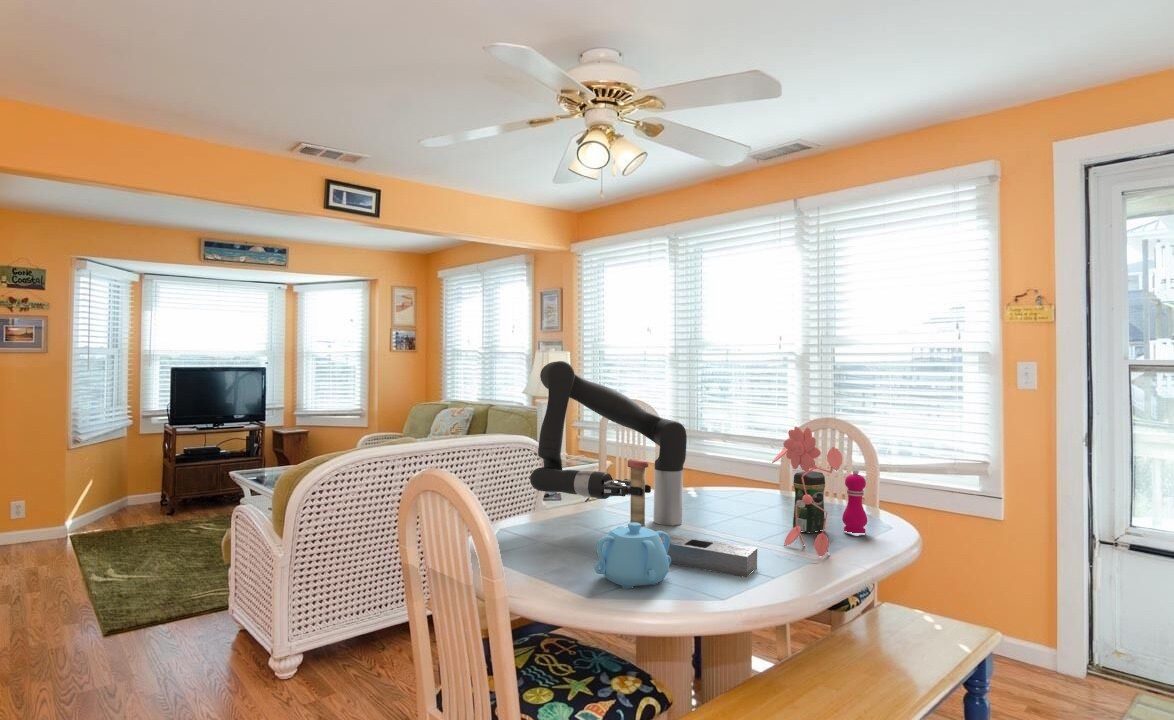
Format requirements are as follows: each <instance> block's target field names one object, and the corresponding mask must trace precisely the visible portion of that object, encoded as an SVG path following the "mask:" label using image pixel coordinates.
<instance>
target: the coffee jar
mask: <svg viewBox="0 0 1174 720" xmlns="http://www.w3.org/2000/svg"><path fill="white" fill-rule="evenodd" d="M804 473H806V472H805V471H800V472H796V473H795V474H794V475H793V483H792V485H793V487H794V505H793V506H794V507H793V517H792V518H793V519H792V529H793V528H794V527H796V503H798V502H800V501H801V500H802V498H803V496H804V495H806V494H805V490H804V487H803V483H802V479H801V477H803V476H802V475H803V474H804ZM825 477H826V476H825V475H824V473H823V472H819V471H814V470H812V471H811V472H809V473H808V474H806V475H805V476H804V477H803V479H804V484H805V488H806V493H807V495H810V496H811V497H812V499H813V501H812V503H814V504H815V505H817V506H819V507H820V508H822V509H823V510H825V503H824V502H825V501H824V494H825V493H824V492H825V488H826V478H825ZM815 505H813V504H805V503H804V502H803V501H802V502H801V503H799V504H797V526H800V527H801V531H805V532H804V533H806V532H815V531H820V530H823V526H824V521H825V516H826V515H825V512H824V511H823V510H821V509H820V508H818V507H816V506H815Z"/></svg>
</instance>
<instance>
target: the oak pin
mask: <svg viewBox="0 0 1174 720" xmlns="http://www.w3.org/2000/svg"><path fill="white" fill-rule="evenodd" d="M627 467H628V468H630V480H631V487H632V486H633V487H642V488H644V495H643V496H637V495H630V521H629V523H640V524H641V527H645V526H646V515H645V514H646V493H645V484H646V469H647V468H649V460H646V459H640V458H639V459H635V458H634V459H629V460H627Z"/></svg>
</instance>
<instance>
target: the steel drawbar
mask: <svg viewBox="0 0 1174 720" xmlns="http://www.w3.org/2000/svg"><path fill="white" fill-rule="evenodd" d="M667 534H668V535H669V537H670V546H669V549H668V552H667V555H668V556H670V558H671V564H672V565H677V566H683V567H688V568H692V569H698V568H699V569H700V570H704V569H706V570H705V571H709V570H711V571H710V572H714V571H716V572H715V573H720V572H721V574H725V573H726V574H727V575H733V576H736V575H737V577H742V576H743V578H748V577H749V576H750V575H751V574H752V573H753V572H754V571H755V570H756V569H757V568H758V547H753V546H747V545H739V544H734V543H727V542H721V541H715V540H714V541H713V540H709V539H703V538H698V537H697V538H695V537H689V536H684V535H683V536H682V535H677V534H671V533H667ZM659 536H660V538H661V540H662V542H663V545H664V543H665V537H664V536H663V535H659ZM671 564H670V565H671ZM753 570H754V571H753ZM752 571H753V572H752ZM751 572H752V573H751ZM750 573H751V574H750ZM749 574H750V575H749ZM748 575H749V576H748ZM747 576H748V577H747Z"/></svg>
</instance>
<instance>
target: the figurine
mask: <svg viewBox="0 0 1174 720" xmlns="http://www.w3.org/2000/svg"><path fill="white" fill-rule="evenodd" d="M787 433H788V437H789V438H788V439H785V441H784V442H783V443H782V444H783V445H782V446H783V447H784V449H783V450H781V451H780V452H779V453H778V454H777V456H775V457H774V459H773V460H772V462H771V464H774V463H776V462H777V461H778V460H780V459H781V458H782V457H784V456H785V455H786V458H787V459H789V460H790V464H791V467H792V469H793V470H796V469H798V468H799V466H800V468H801V470H802V471H803V472H806V473H804V474H803V475H802V476H803V477H804V476H805V475H806V474H808V473H809V472H811V471H814V470H820V471H823V472H827V473H830V474H832V473H833V470H835V471H839V469H840V467H841V466H842V464H843V455H842V452H841V451H840V450H839V449H838V448H836V447H835V446H831V449H829V450H828V452H827V455H826V460H827V463H828V465H829V466H830V470H829V469H826V468H822V467H820V466H818V465H817V464H816V461H815V460H814V459H817V458H818V457H820V456H821V453H822V452H821V450H820V449H819V448H818V447H816V441H817V440H816V438H815V437H814V436H813V434H812V430H811V427H805V429H804V430H803V431H802V429H801V428H800V427H798V426H795V427H794V429H789V430H788V432H787ZM803 477H801V479H802V483H803V487H804V490H805V494H806V495H804V496H803V498H802V500H801V501H800V502H798V503H796V527H794V528H793V527H792V528H791V530H790V531H789V532H788V533H787V535H786V537H785V540H784V545H783V547H787V546H789V545H791V544H792V543H794V542H795V541H796V540H797V539H798V538H799V539H800V541H801V545H802V546H803V545H804V544H805V542H804V540H803V536H802V532H801V527H800V526H797V504H799V503H801V502H802V501H803V502H804V503H805V504H813V505H815V504H814V503H812V501H813V499H812V497H811V496H810V495H807V493H806V488H805V484H804V479H803ZM815 506H816V507H818V508H820V507H819V506H817V505H815ZM820 509H821V510H823V509H822V508H820ZM823 511H824V513H825V515H824V516H825V521H824V526H823V531H821V533H819V534H817V536H816V538H815V540H814V544H813V546H814V549H815V551H816V554H817V555H818V556H822V557H823V556H824V555H825V554H826V553H827V552H829V553H830V551H829V547H830V542H829V539H828V536H827V535H826V534H825V530H826V523H827V520H828V519H827V518H828V511H827V510H826V509H824V510H823ZM824 529H825V530H824Z"/></svg>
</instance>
